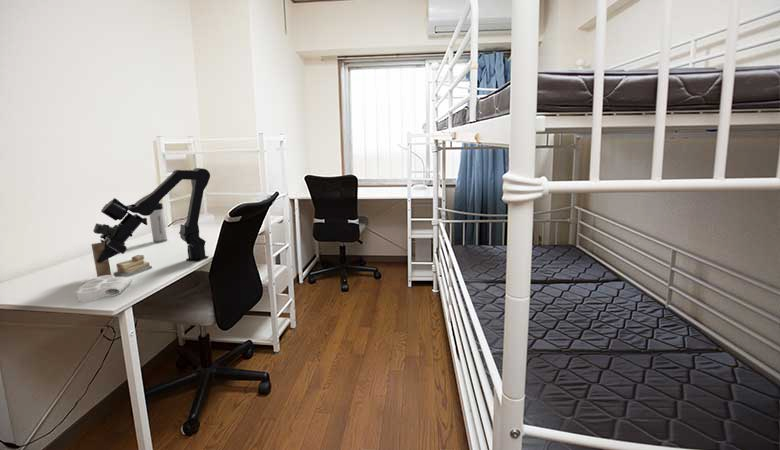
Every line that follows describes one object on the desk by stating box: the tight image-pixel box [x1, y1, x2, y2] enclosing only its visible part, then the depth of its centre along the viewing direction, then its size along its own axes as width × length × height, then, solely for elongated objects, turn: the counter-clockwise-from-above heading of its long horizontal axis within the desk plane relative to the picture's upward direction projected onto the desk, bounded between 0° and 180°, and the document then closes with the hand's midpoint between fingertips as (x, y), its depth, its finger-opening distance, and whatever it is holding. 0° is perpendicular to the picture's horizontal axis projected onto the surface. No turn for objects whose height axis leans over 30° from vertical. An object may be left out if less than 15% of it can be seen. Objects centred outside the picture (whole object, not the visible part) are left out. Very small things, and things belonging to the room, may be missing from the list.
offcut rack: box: [112, 254, 153, 277], centre depth 162 cm, size 7×11×6 cm, turn 161°
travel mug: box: [149, 202, 168, 244], centre depth 208 cm, size 6×7×20 cm
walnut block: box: [90, 241, 112, 278], centre depth 155 cm, size 4×4×13 cm
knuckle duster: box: [74, 274, 133, 303], centre depth 142 cm, size 3×18×15 cm
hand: (97, 261), depth 154 cm, fingers closed on walnut block, 4 cm apart
